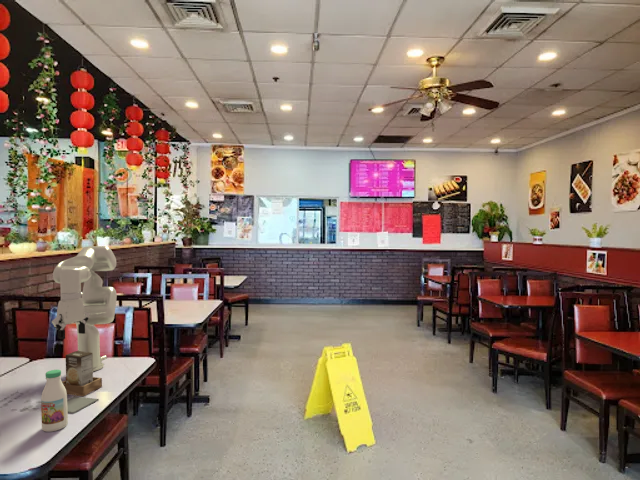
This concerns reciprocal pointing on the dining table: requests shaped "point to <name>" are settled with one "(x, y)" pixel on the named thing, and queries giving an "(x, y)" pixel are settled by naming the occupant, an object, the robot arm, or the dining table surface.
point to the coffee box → (79, 368)
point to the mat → (78, 403)
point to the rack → (83, 387)
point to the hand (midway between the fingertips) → (72, 336)
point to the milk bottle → (54, 403)
